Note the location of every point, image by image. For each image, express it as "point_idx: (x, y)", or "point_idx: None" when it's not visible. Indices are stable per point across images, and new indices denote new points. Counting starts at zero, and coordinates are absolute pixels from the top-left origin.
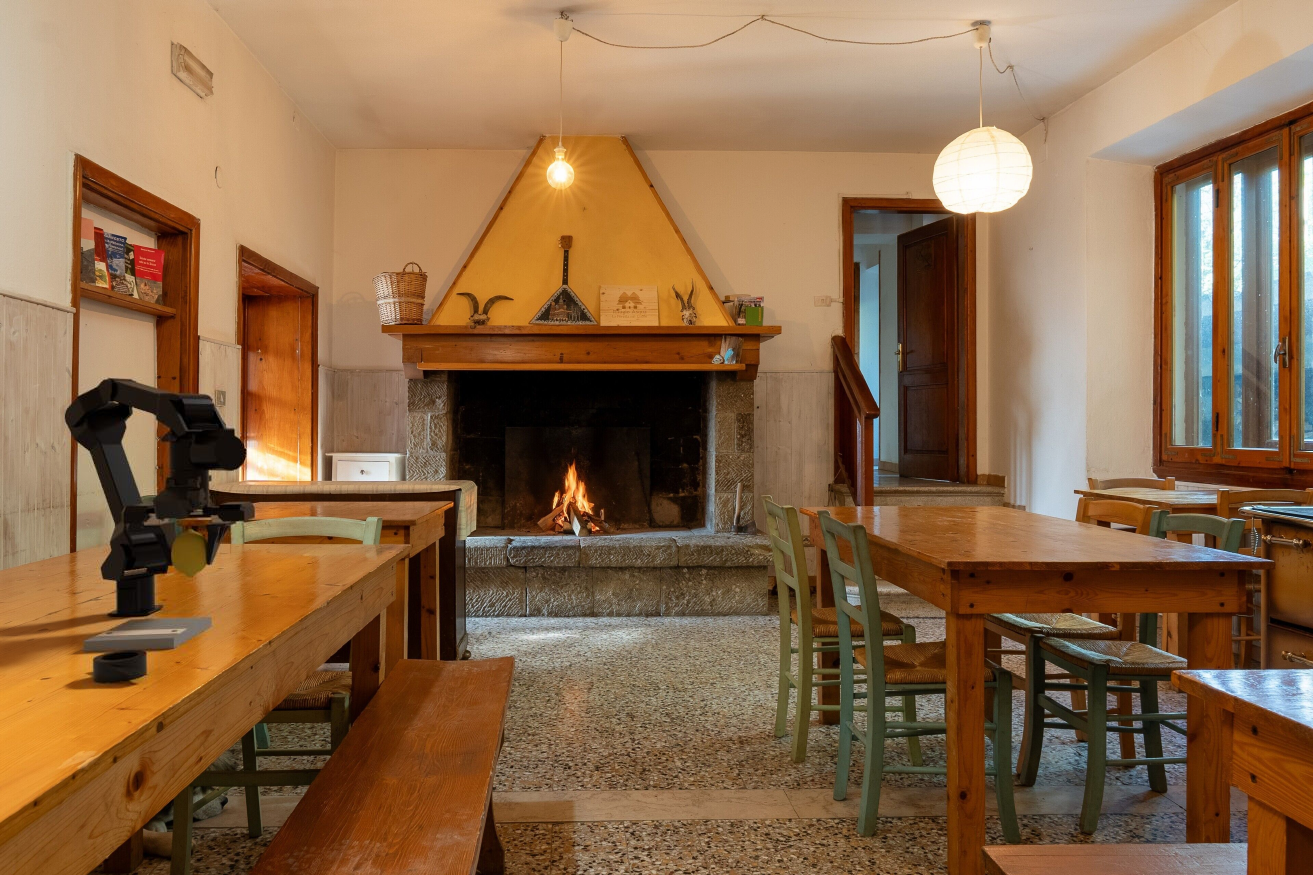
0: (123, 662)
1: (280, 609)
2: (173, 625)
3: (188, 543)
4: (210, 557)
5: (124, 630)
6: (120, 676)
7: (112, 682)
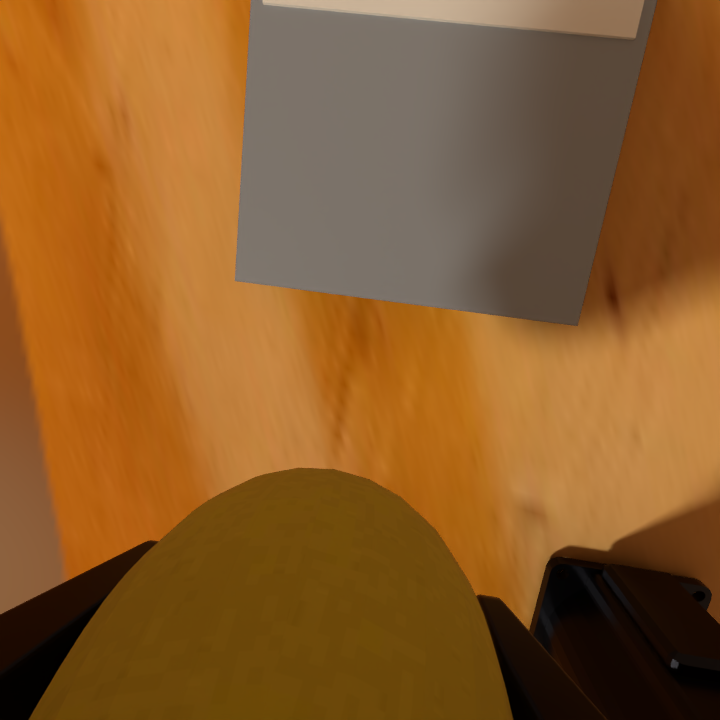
0: None
1: (87, 520)
2: (349, 121)
3: (168, 712)
4: (87, 576)
5: (552, 55)
6: None
7: None
